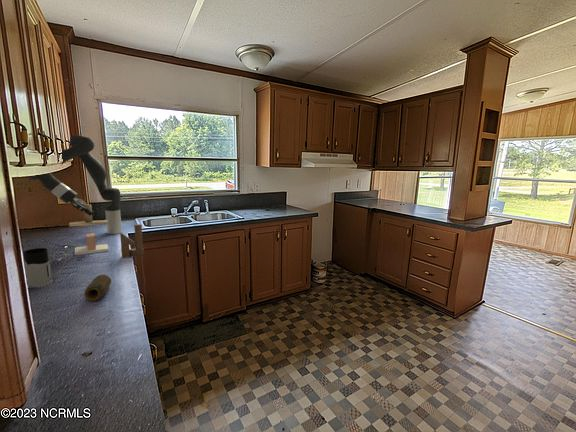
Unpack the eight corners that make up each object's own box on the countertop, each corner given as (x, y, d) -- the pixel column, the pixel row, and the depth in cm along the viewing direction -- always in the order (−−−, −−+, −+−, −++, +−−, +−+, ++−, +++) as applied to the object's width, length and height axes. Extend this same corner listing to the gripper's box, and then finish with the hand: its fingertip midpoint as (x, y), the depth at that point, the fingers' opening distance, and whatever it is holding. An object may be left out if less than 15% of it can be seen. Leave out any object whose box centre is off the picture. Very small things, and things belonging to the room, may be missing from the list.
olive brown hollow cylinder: (106, 301, 107) (105, 284, 105) (84, 304, 104) (82, 287, 103) (112, 285, 120) (111, 270, 119) (93, 287, 117) (91, 272, 116)
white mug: (29, 281, 120) (25, 248, 117) (70, 277, 126) (67, 245, 124) (22, 290, 112) (17, 255, 109) (66, 284, 119) (62, 251, 116)
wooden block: (121, 256, 156) (119, 225, 153) (142, 253, 162) (141, 223, 159) (122, 258, 153) (120, 226, 150) (144, 254, 160) (142, 224, 156)
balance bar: (69, 224, 157) (67, 205, 155) (107, 222, 168) (106, 203, 166) (69, 226, 153) (67, 206, 151) (107, 224, 164) (106, 204, 162)
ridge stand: (75, 249, 163) (73, 234, 161) (107, 246, 172) (106, 231, 171) (74, 255, 154) (73, 238, 153) (108, 251, 164) (107, 235, 162)
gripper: (66, 189, 147) (95, 211, 155) (73, 187, 160) (100, 207, 167) (54, 199, 146) (84, 221, 153) (62, 196, 159) (90, 216, 166)
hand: (92, 213), depth 160 cm, fingers closed on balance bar, 3 cm apart
